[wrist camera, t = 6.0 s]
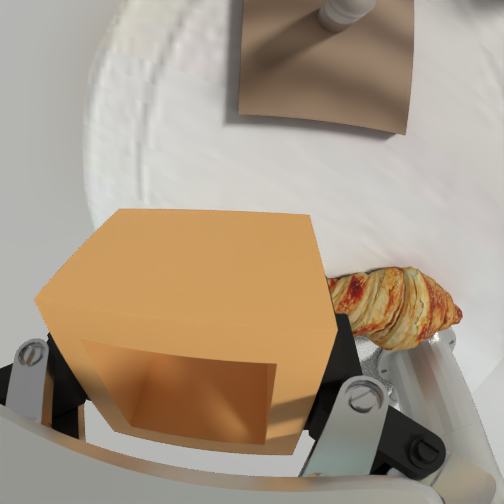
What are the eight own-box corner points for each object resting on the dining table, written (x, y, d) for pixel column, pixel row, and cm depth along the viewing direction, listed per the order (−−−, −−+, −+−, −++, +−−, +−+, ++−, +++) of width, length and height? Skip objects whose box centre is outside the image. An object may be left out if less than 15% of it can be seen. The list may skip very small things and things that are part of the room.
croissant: (296, 283, 36) (290, 347, 32) (321, 237, 27) (317, 319, 23) (436, 305, 36) (440, 359, 32) (481, 272, 27) (492, 336, 23)
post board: (398, 132, 23) (443, 152, 16) (240, 113, 23) (226, 122, 16) (404, -37, 13) (443, -65, 6) (249, -63, 14) (241, -108, 7)
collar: (289, 350, 13) (292, 455, 8) (149, 338, 13) (114, 431, 9) (309, 214, 9) (337, 329, 5) (119, 208, 10) (33, 299, 5)
